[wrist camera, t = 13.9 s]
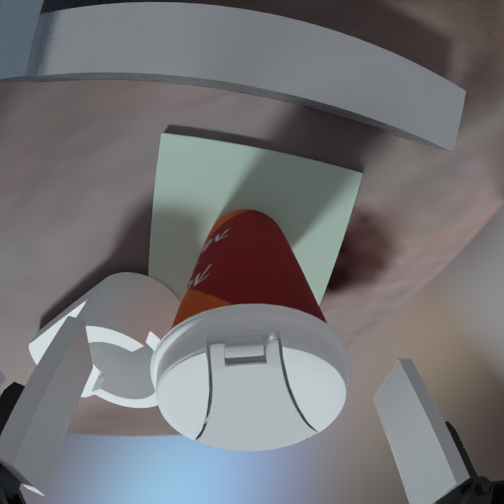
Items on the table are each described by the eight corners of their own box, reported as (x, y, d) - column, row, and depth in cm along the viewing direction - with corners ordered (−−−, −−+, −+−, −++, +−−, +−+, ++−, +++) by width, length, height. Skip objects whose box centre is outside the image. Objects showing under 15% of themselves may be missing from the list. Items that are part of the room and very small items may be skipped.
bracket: (139, 253, 22) (105, 306, 16) (207, 330, 26) (198, 391, 20) (29, 338, 27) (3, 378, 21) (82, 386, 30) (63, 429, 24)
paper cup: (185, 199, 21) (110, 336, 8) (297, 189, 21) (378, 317, 8) (201, 295, 24) (175, 458, 11) (299, 287, 24) (343, 447, 11)
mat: (149, 303, 25) (147, 307, 24) (163, 132, 19) (161, 133, 19) (308, 326, 27) (309, 331, 26) (360, 171, 21) (362, 173, 20)
